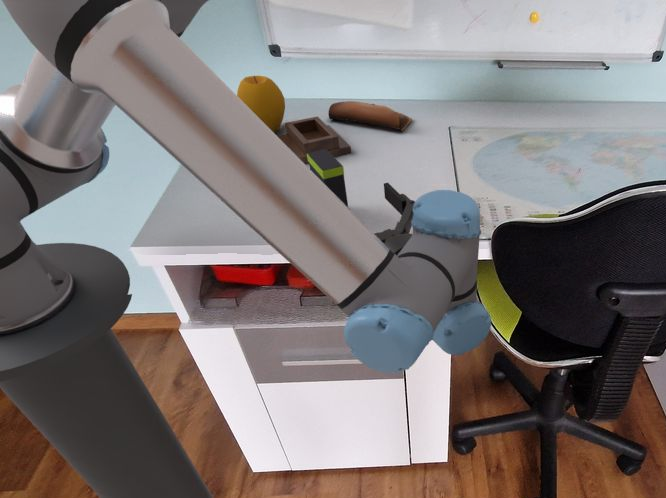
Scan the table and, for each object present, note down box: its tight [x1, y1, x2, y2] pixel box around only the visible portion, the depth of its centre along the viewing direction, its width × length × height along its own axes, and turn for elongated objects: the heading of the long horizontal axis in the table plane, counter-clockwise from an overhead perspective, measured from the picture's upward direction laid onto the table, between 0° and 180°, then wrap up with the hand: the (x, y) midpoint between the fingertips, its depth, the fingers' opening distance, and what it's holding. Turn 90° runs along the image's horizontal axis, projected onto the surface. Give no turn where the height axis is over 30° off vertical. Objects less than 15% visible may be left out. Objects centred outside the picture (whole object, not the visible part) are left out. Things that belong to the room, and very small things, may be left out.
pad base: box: [276, 116, 352, 165], centre depth 115 cm, size 12×12×4 cm
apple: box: [236, 75, 286, 134], centre depth 117 cm, size 10×10×12 cm
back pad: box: [307, 149, 349, 208], centre depth 93 cm, size 4×7×11 cm, turn 32°
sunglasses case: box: [328, 100, 412, 132], centre depth 125 cm, size 18×7×7 cm
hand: (348, 200), depth 87 cm, fingers open, 13 cm apart
